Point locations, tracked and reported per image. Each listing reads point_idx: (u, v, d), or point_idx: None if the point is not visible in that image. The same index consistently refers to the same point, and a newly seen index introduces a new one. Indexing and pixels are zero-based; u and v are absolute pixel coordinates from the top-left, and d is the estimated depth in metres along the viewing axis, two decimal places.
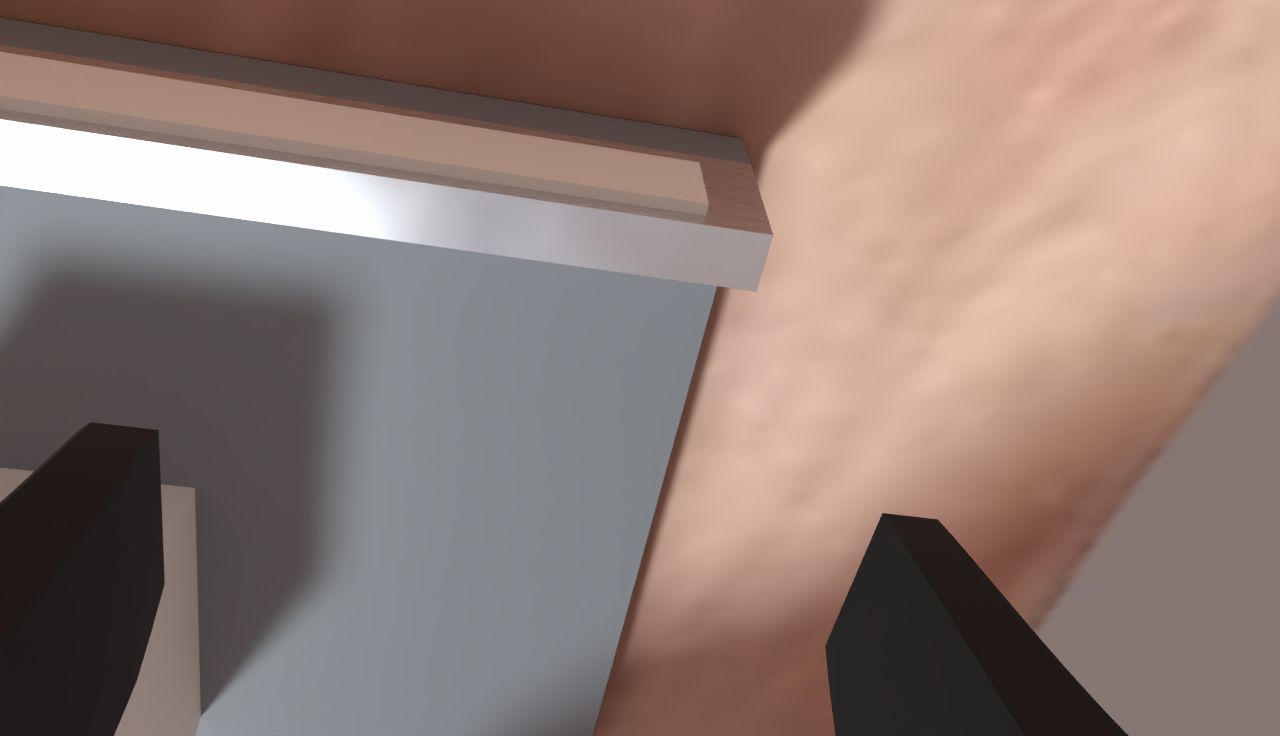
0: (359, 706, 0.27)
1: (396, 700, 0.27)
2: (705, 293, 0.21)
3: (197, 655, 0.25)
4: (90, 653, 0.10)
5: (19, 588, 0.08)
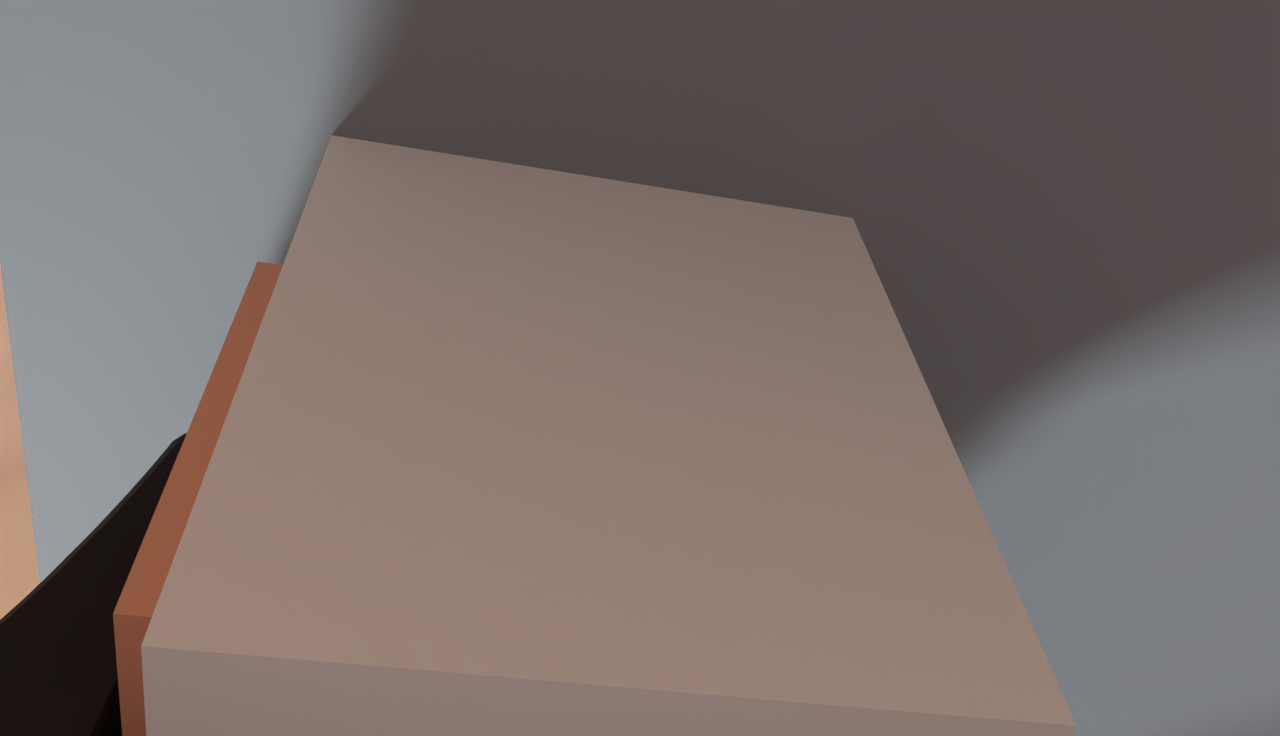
0: None
1: None
2: None
3: None
4: None
5: None
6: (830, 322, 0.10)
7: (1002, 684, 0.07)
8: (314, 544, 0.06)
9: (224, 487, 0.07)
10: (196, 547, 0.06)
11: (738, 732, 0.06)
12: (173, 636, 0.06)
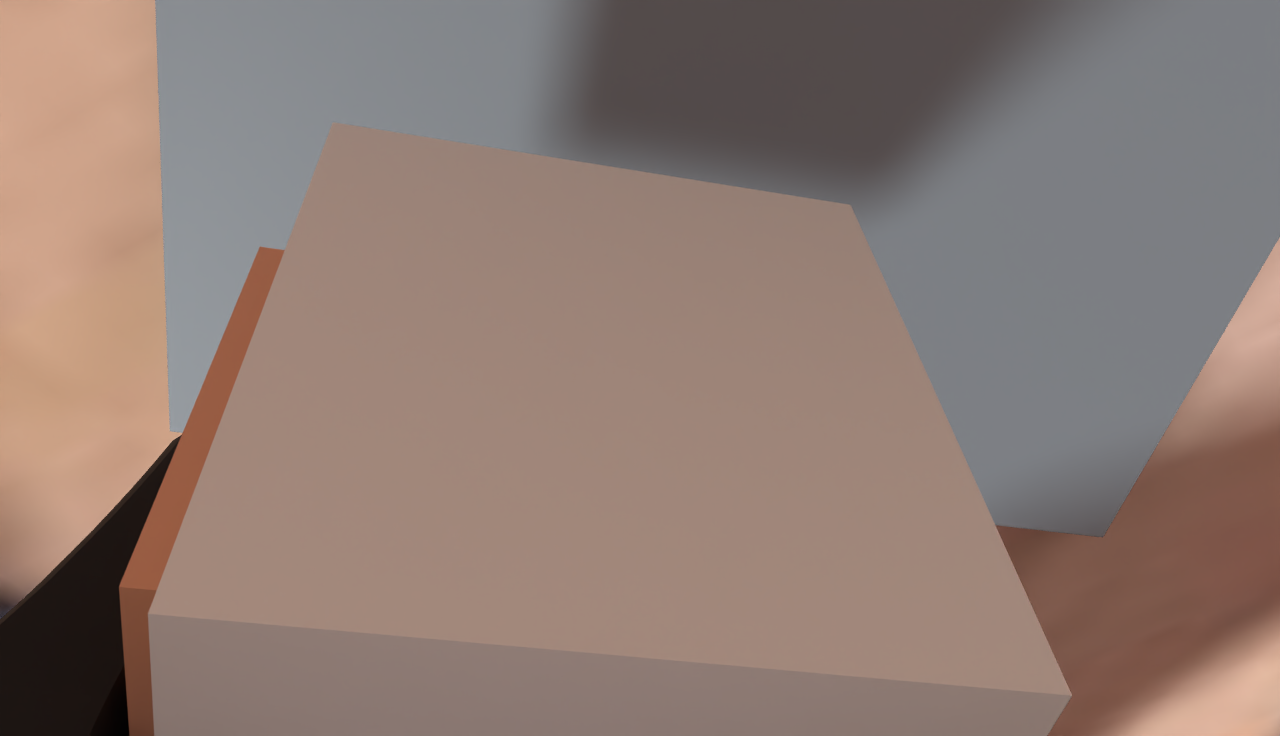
0: None
1: None
2: None
3: None
4: None
5: None
6: (827, 306, 0.10)
7: (998, 655, 0.07)
8: (318, 517, 0.07)
9: (229, 461, 0.07)
10: (202, 519, 0.06)
11: (738, 702, 0.06)
12: (180, 604, 0.06)
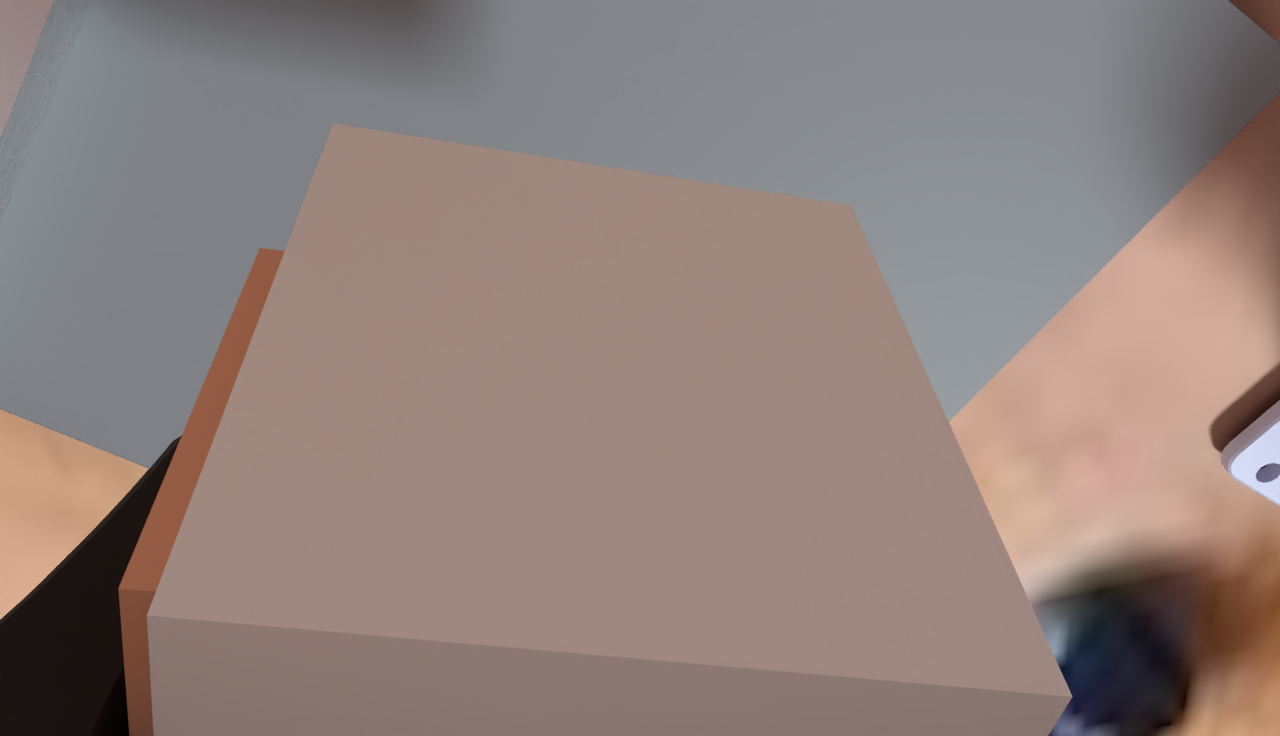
0: (961, 256, 0.20)
1: (981, 212, 0.19)
2: None
3: None
4: None
5: None
6: (828, 306, 0.10)
7: (998, 655, 0.07)
8: (316, 519, 0.07)
9: (228, 463, 0.07)
10: (201, 520, 0.06)
11: (737, 702, 0.06)
12: (178, 606, 0.06)
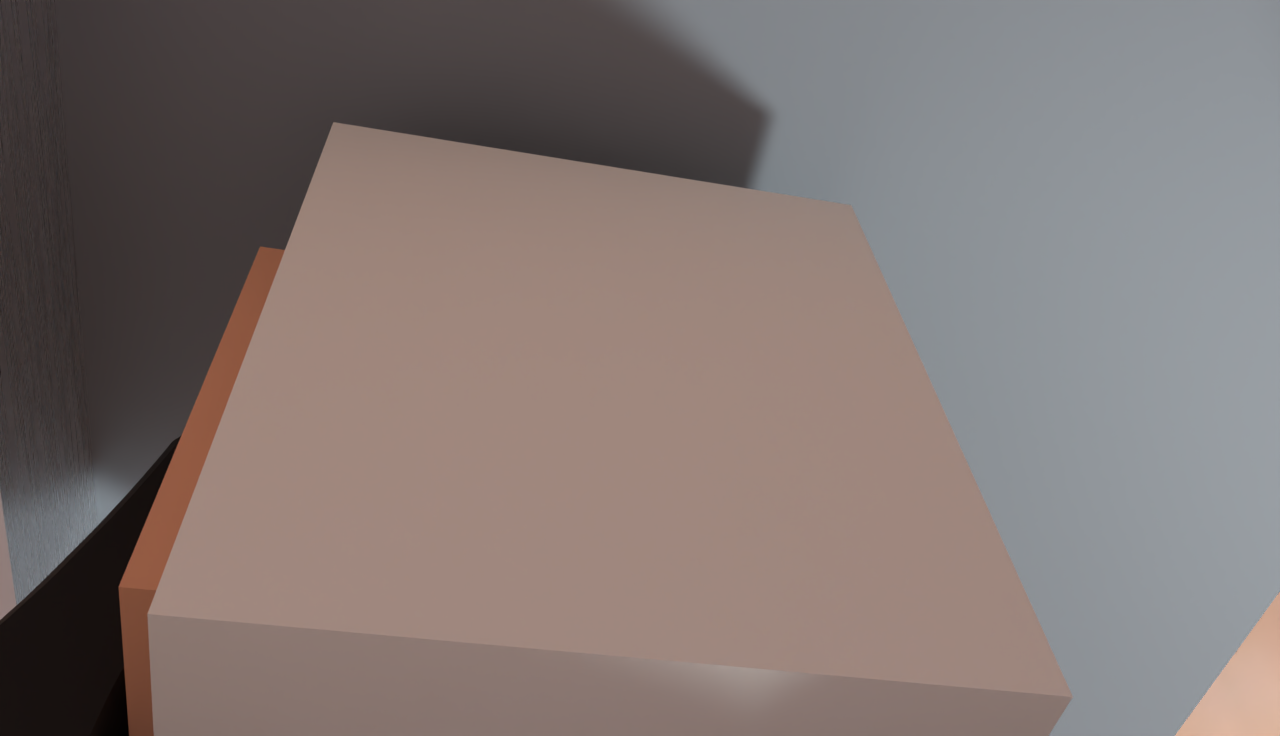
0: (1228, 423, 0.15)
1: (1237, 368, 0.14)
2: None
3: None
4: None
5: None
6: (828, 306, 0.10)
7: (999, 655, 0.07)
8: (319, 517, 0.07)
9: (229, 461, 0.07)
10: (202, 519, 0.06)
11: (738, 702, 0.06)
12: (179, 604, 0.06)
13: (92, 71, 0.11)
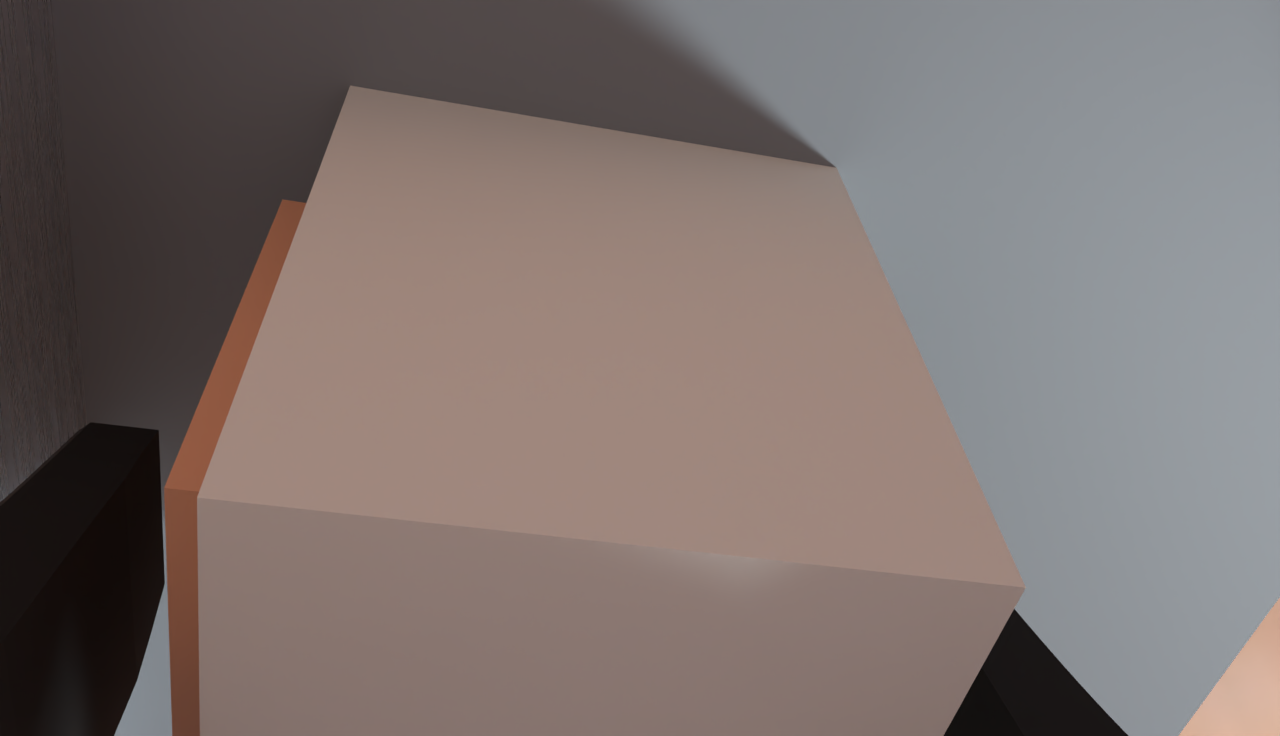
0: (1230, 426, 0.15)
1: (1239, 371, 0.14)
2: None
3: None
4: (90, 653, 0.10)
5: (19, 588, 0.08)
6: (813, 255, 0.10)
7: (960, 552, 0.07)
8: (346, 422, 0.07)
9: (264, 374, 0.07)
10: (242, 421, 0.07)
11: (724, 589, 0.07)
12: (225, 490, 0.07)
13: (89, 74, 0.11)
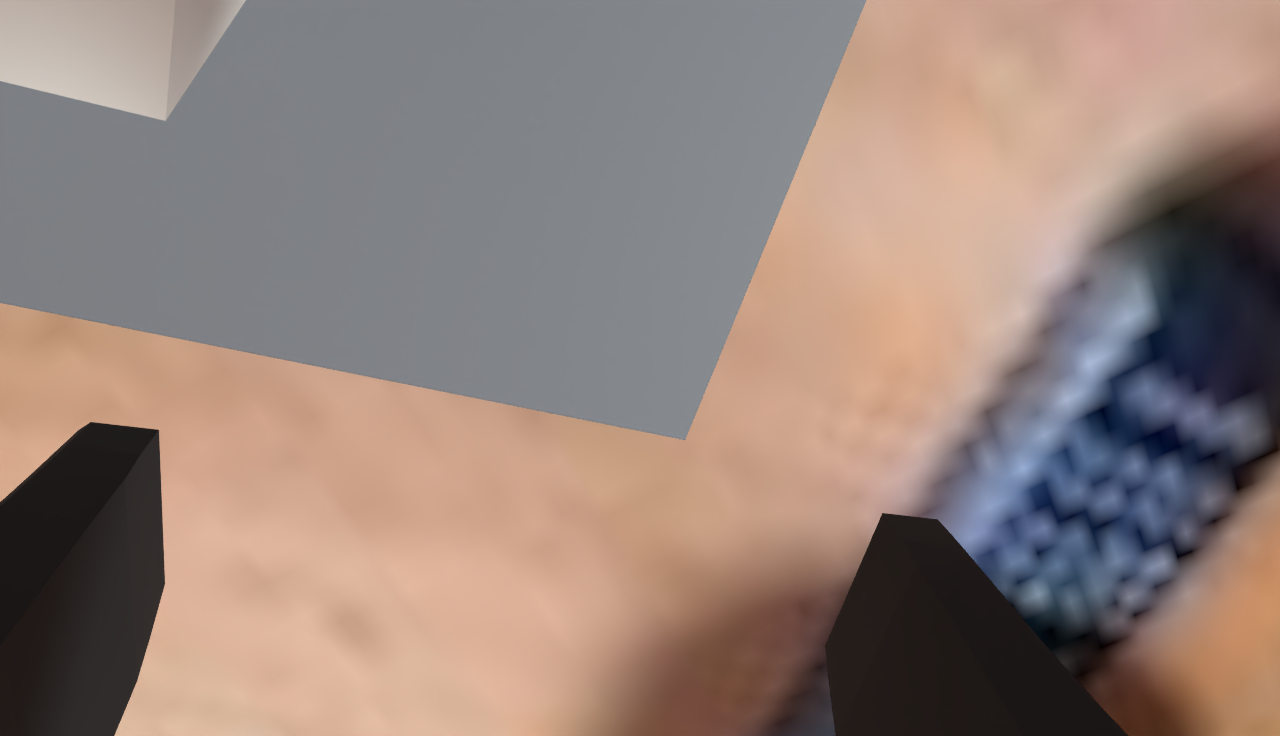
0: None
1: None
2: None
3: None
4: (90, 653, 0.10)
5: (19, 588, 0.08)
6: None
7: None
8: None
9: None
10: None
11: None
12: None
13: None
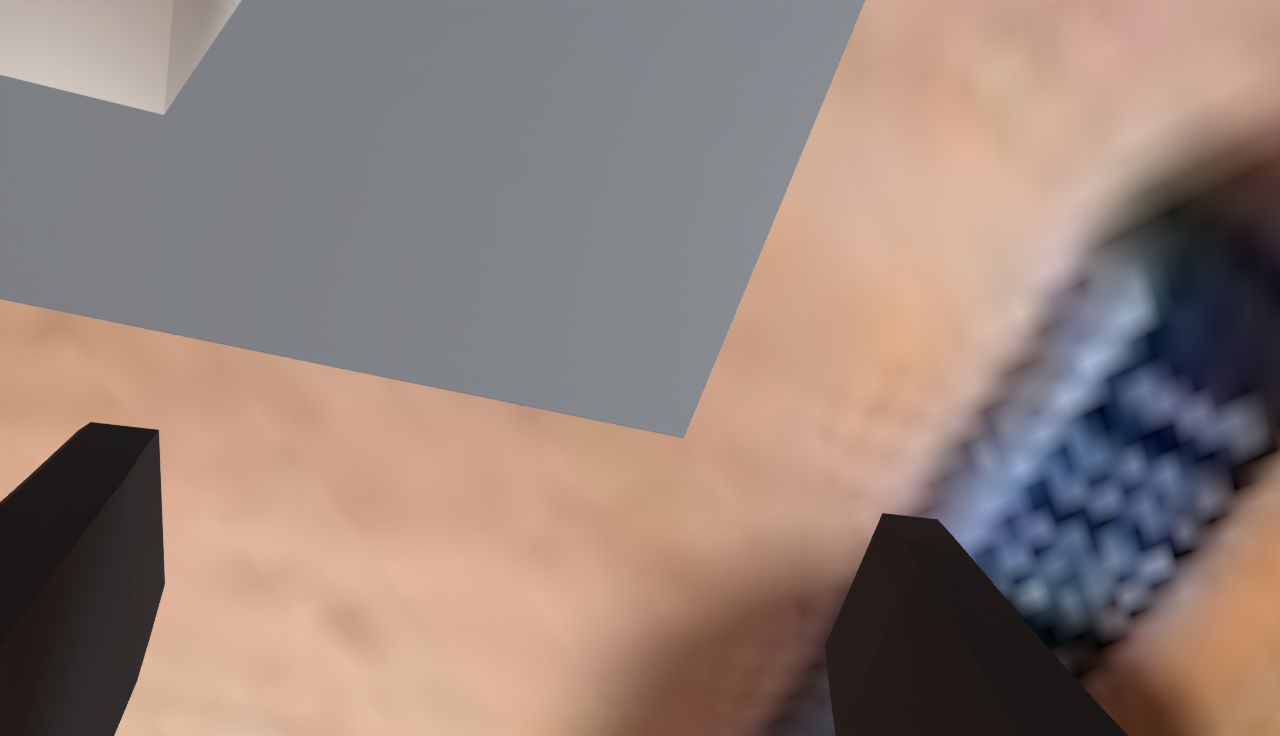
0: None
1: None
2: None
3: None
4: (90, 653, 0.10)
5: (19, 588, 0.08)
6: None
7: None
8: None
9: None
10: None
11: None
12: None
13: None
